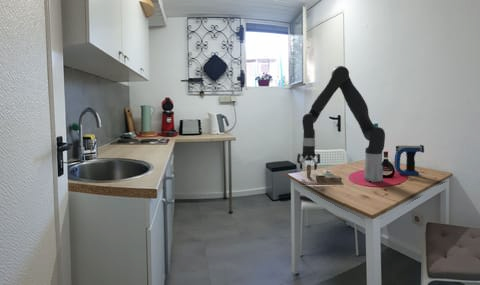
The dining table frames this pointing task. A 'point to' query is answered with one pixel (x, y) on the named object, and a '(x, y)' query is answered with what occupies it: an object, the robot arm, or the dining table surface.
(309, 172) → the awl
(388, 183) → the dining table surface
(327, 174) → the stud finder block
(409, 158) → the handheld scanner
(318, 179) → the joist batten
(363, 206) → the dining table surface
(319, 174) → the subfloor panel
